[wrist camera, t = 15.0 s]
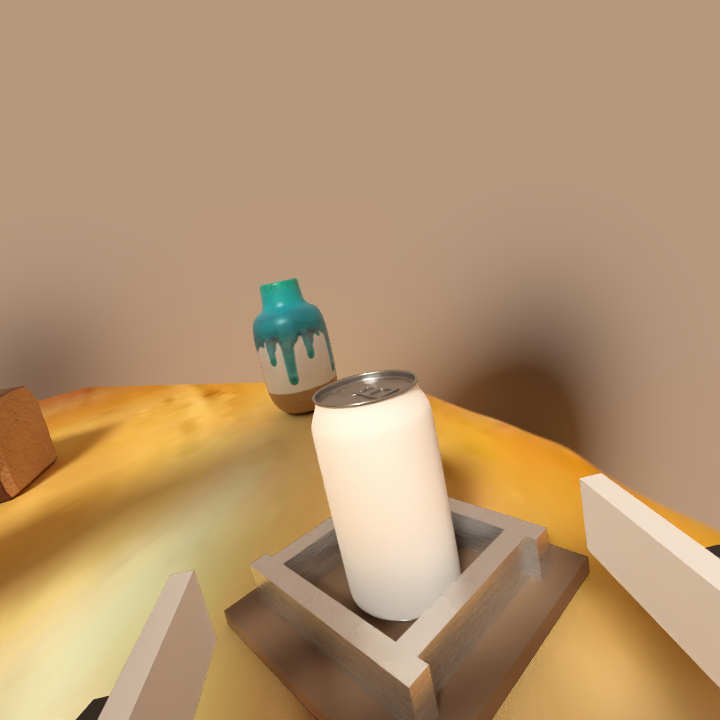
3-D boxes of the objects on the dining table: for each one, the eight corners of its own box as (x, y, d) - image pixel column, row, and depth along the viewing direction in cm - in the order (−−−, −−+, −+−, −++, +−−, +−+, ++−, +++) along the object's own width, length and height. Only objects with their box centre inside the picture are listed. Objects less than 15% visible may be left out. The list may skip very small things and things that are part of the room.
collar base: (228, 624, 27) (224, 611, 26) (395, 502, 36) (393, 491, 36) (419, 828, 15) (414, 807, 15) (589, 572, 25) (588, 556, 25)
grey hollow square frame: (260, 600, 27) (249, 564, 26) (389, 506, 34) (382, 476, 33) (420, 739, 17) (409, 687, 17) (552, 567, 24) (546, 527, 24)
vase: (315, 424, 59) (281, 281, 55) (259, 422, 64) (224, 293, 61) (356, 396, 67) (329, 270, 63) (303, 397, 73) (275, 282, 69)
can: (403, 533, 30) (368, 365, 28) (485, 571, 25) (451, 369, 23) (329, 592, 26) (280, 401, 24) (409, 650, 21) (358, 416, 19)
